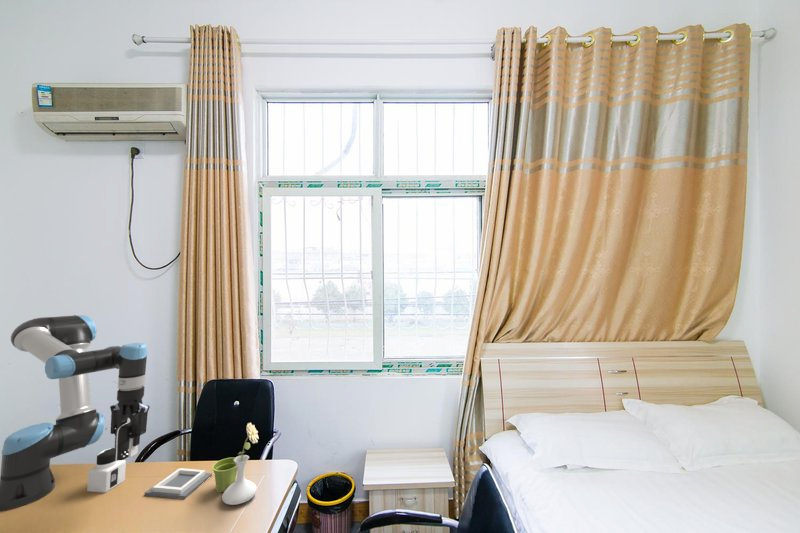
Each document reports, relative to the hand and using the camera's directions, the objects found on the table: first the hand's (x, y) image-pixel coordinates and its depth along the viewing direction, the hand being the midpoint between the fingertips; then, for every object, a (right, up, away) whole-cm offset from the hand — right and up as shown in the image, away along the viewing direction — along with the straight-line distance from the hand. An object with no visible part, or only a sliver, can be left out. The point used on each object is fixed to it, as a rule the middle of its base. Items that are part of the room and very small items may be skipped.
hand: (126, 454), depth 113 cm
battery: (0, -1, 0) cm, 1 cm away
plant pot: (+31, -17, +8) cm, 36 cm away
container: (-14, -17, +8) cm, 23 cm away
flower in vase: (+40, -17, +3) cm, 43 cm away
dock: (+13, -17, +9) cm, 23 cm away
